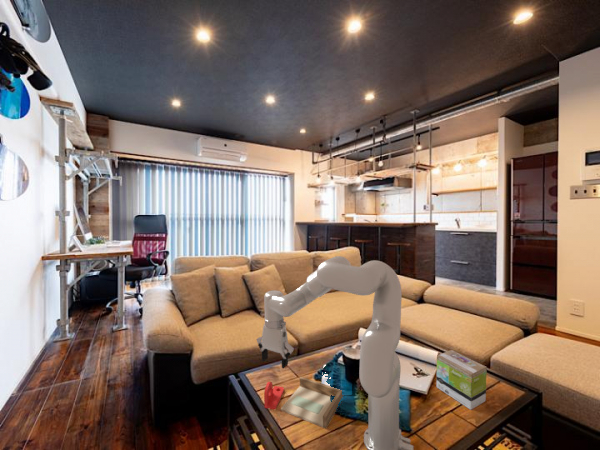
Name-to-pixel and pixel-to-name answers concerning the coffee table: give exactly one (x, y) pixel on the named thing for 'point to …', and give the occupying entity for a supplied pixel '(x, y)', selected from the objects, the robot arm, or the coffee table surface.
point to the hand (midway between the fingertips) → (274, 363)
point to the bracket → (272, 395)
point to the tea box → (461, 378)
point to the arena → (313, 402)
